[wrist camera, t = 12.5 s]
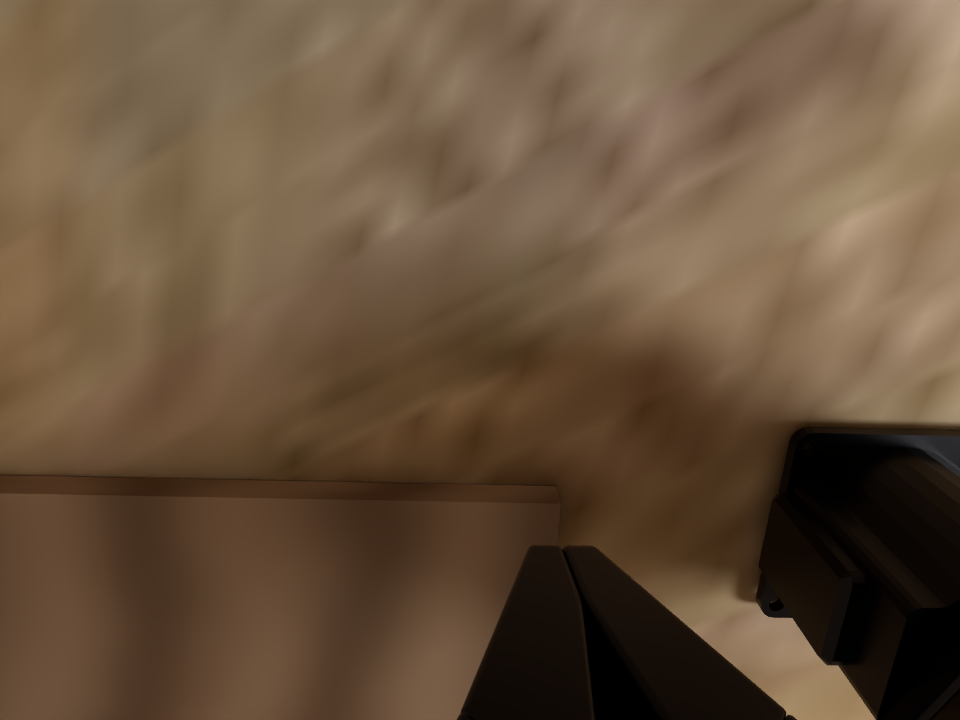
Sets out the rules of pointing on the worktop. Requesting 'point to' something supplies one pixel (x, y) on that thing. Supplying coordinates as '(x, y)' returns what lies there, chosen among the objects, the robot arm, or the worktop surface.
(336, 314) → the worktop surface
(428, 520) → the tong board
